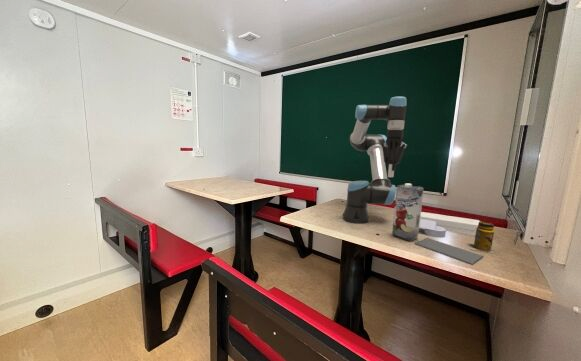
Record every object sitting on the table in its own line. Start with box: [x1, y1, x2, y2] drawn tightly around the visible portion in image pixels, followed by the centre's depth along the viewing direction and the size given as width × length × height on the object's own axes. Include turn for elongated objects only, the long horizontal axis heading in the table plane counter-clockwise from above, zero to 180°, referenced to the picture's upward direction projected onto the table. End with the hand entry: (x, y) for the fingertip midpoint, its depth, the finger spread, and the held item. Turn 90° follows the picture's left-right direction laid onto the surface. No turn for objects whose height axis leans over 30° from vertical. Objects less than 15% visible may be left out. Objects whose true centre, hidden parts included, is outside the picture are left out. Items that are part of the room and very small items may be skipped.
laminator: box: [420, 211, 481, 236], centre depth 131 cm, size 34×12×6 cm, turn 61°
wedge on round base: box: [419, 219, 447, 238], centre depth 121 cm, size 9×7×13 cm
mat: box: [414, 237, 484, 266], centre depth 101 cm, size 22×12×1 cm, turn 35°
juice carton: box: [392, 183, 425, 242], centre depth 112 cm, size 9×10×27 cm
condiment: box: [465, 221, 495, 254], centre depth 104 cm, size 7×8×12 cm
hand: (390, 176), depth 118 cm, fingers closed
